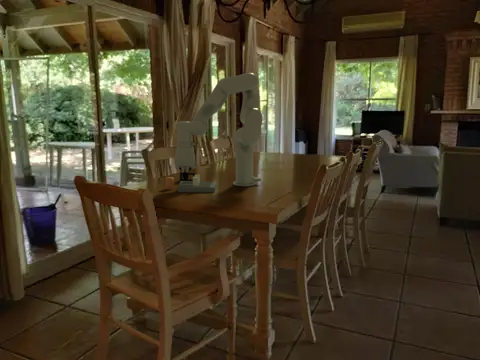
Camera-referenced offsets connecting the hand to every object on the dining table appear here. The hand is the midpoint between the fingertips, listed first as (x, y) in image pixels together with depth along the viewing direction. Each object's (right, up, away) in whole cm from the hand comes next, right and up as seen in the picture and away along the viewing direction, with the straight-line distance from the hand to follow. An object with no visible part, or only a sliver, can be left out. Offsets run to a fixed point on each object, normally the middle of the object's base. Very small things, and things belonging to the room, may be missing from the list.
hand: (185, 179), depth 214 cm
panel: (+6, -5, -2) cm, 9 cm away
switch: (+6, -4, -6) cm, 9 cm away
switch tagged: (+6, -3, 0) cm, 7 cm away
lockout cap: (-9, -5, +1) cm, 10 cm away
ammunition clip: (-1, -1, +22) cm, 22 cm away
